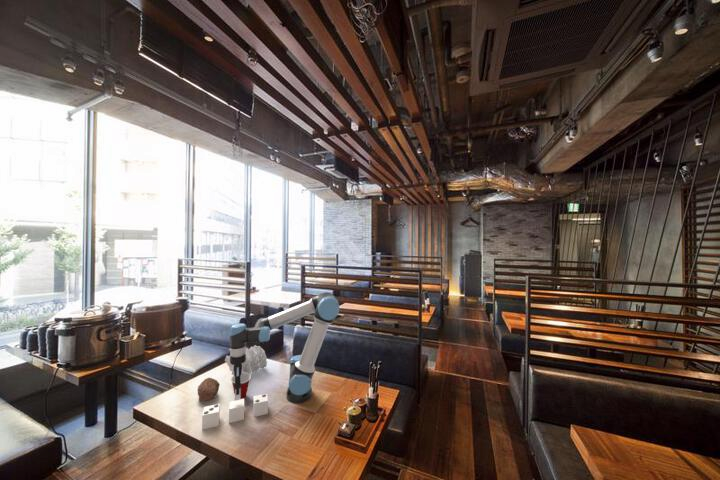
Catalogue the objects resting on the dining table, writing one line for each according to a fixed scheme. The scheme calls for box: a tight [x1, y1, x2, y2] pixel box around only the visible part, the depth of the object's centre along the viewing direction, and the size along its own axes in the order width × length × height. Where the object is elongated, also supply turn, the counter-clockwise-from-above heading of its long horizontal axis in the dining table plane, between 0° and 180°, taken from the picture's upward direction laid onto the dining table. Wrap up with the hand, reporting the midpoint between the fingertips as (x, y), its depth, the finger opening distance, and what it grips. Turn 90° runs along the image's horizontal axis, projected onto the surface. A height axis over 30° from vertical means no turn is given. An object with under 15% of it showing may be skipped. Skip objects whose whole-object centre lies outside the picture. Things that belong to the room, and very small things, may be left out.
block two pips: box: [252, 393, 269, 418], centre depth 142 cm, size 7×7×7 cm
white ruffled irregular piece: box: [224, 344, 268, 377], centre depth 181 cm, size 18×18×25 cm
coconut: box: [197, 377, 220, 402], centre depth 154 cm, size 13×11×10 cm
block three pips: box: [201, 403, 221, 430], centre depth 132 cm, size 7×7×7 cm
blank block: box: [228, 398, 245, 424], centre depth 137 cm, size 7×7×7 cm
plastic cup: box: [230, 373, 252, 400], centre depth 154 cm, size 11×11×12 cm
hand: (237, 399), depth 137 cm, fingers closed
